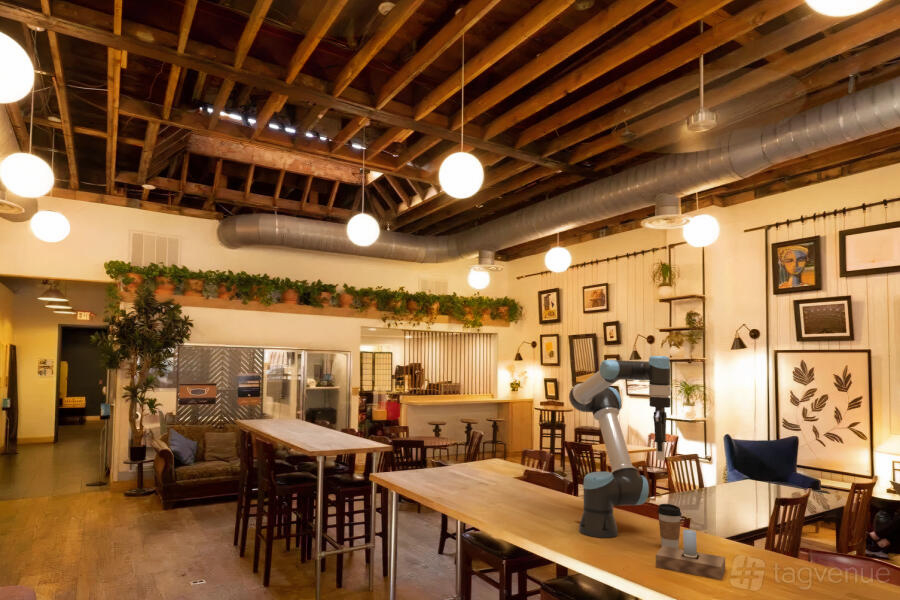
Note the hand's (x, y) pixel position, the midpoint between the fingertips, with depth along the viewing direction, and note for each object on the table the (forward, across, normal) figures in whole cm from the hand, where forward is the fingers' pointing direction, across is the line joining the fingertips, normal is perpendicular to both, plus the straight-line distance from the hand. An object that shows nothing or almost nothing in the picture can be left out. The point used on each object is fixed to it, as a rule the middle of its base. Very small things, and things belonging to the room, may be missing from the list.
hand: (660, 460), depth 212 cm
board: (+32, -15, -12) cm, 38 cm away
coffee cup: (+33, +5, -2) cm, 33 cm away
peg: (+32, -15, -12) cm, 38 cm away
